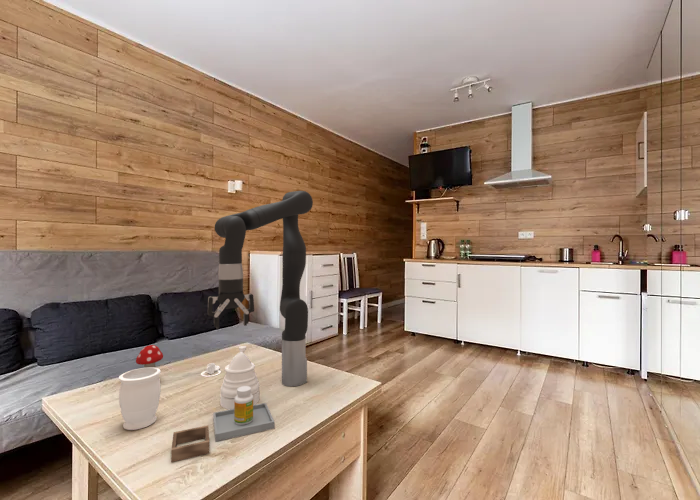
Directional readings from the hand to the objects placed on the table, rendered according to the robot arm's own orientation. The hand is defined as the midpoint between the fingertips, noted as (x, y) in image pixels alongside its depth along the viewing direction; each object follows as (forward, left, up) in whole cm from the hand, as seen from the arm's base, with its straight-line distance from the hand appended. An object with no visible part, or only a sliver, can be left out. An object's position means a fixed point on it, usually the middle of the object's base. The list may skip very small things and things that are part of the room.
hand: (231, 326), depth 108 cm
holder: (+12, +18, -27) cm, 34 cm away
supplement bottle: (-3, +11, -26) cm, 29 cm away
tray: (-2, +11, -27) cm, 29 cm away
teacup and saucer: (+2, -36, -28) cm, 45 cm away
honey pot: (-3, -5, -27) cm, 28 cm away
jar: (+26, -2, -27) cm, 37 cm away
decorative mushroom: (+27, -33, -27) cm, 50 cm away
